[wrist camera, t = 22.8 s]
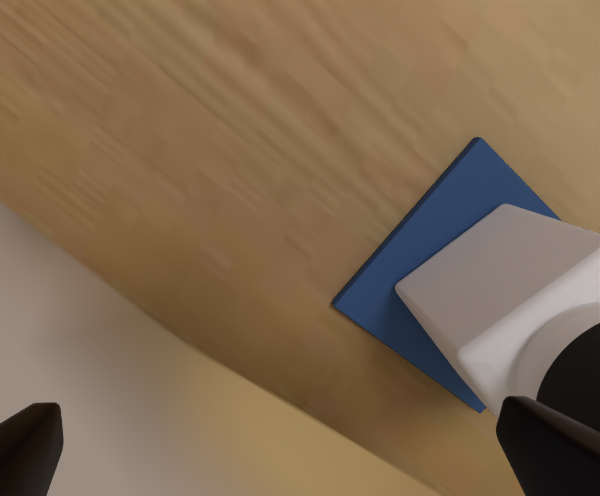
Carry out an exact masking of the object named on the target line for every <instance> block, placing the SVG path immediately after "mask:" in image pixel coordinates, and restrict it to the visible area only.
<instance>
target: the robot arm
mask: <svg viewBox="0 0 600 496" xmlns="http://www.w3.org/2000/svg"><path fill="white" fill-rule="evenodd" d="M496 434H497V438H498V440H499V443H500V445H501V447H502V449H503V451H504V453H505V455H506V457H507V459H508V461H509V463H510V465H511V467H512V469H513V471H514V473H515V475H516V477H517V479H518V481H519V483H520V485H521V487H522V490H523V492H524V494H525V496H600V432H599V431H596V430H594V429H592V428H590V427H588V426H586V425H584V424H582V423H580V422H578V421H576V420H574V419H572V418H570V417H568V416H566V415H564V414H562V413H560V412H558V411H556V410H554V409H551V408H549V407H547V406H545V405H543V404H541V403H539V402H537V401H535V400H533V399H531V398H529V397H527V396H508V397H506V398H505V399H504V400H503V403H502V407H501V411H500V414H499V418H498V422H497V426H496ZM62 449H63V429H62V418H61V409H60V406H59V405H58V404H57V403H34V404H32V405H30V406H28V407H26V408H25V409H23V410H21V411H20V412H19V413H17V414H15V415H13V416H12V417H10V418H8V419H7V420H5V421H4V422H2V423H0V496H46V495H47V492H48V490H49V487H50V484H51V481H52V478H53V476H54V473H55V469H56V467H57V464H58V461H59V458H60V456H61V453H62Z"/></svg>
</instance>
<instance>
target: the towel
mask: <svg viewBox="0 0 600 496" xmlns="http://www.w3.org/2000/svg"><path fill="white" fill-rule="evenodd" d="M502 204H510V205H513V206H516V207H519V208H522V209H525V210H528V211H532V212H535V213H538V214H541V215H544V216H547V217H550V218H553V219H556V220H559V221H561V220H560V219H559V218H558V217H557V215H556V214H555V213H554V212H553V211H552V210H551V209H550V208H549V207H548V206H547V205H546V204H545V203H544V202H543V201H542V200H541V199H540V198H539V197H538V196H537V195H536V194H535V193H534V192H533V191H532V190H531V189H530V188H529V187H528V185H527V184H526V183H525V182H524V181H523V180H522V179H521V178H520V177H519V176H518V175H517V174H516V173H515V172H514V171H513V170H512V169H511V168H510V167H509V166H508V165H507V164H506V163H505V162H504V161H503V160H502V159H501V158H500V156H499V155H498V154H497V153H496V152H495V151H494V150H493V149H492V148H491V147H490V146H489V145H488V144H487V143H486V142H485V141H484V140H483V139H482V138H479V137H475V138H474V139H473V140H472V141H471V142H470V144H469V145H468V146H467V147H466V148H465V149H464V150H463V152H462V153H461V154H460V155H459V156H458V157H457V158H456V160H455V161H454V162H453V163H452V164H451V165H450V167H449V168H448V169H447V170H446V171H445V172H444V173H443V175H442V176H441V177H440V178H439V179H438V180H437V181H436V183H435V184H434V185H433V186H432V187H431V188H430V189H429V191H428V192H427V193H426V194H425V195H424V196H423V198H422V199H421V200H420V201H419V202H418V203H417V204H416V206H415V207H414V208H413V209H412V210H411V211H410V212H409V214H408V215H407V216H406V217H405V218H404V219H403V220H402V222H401V223H400V224H399V225H398V226H397V227H396V229H395V230H394V231H393V232H392V233H391V234H390V235H389V237H388V238H387V239H386V240H385V241H384V242H383V243H382V245H381V246H380V247H379V248H378V249H377V250H376V251H375V253H374V254H373V255H372V256H371V257H370V258H369V260H368V261H367V262H366V263H365V264H364V265H363V266H362V268H361V269H360V270H359V271H358V272H357V273H356V274H355V276H354V277H353V278H352V279H351V280H350V281H349V282H348V284H347V285H346V286H345V287H344V288H343V289H342V290H341V292H340V293H339V294H338V295H337V296H336V297H335V299H334V300H333V301H332V304H333V306H334V307H335V308H337V309H338V310H339V311H341V312H342V313H343V314H345V315H346V316H347V317H349V318H350V319H352V320H353V321H354V322H356V323H357V324H358V325H360V326H361V327H362V328H364V329H365V330H367V331H368V332H369V333H371V334H372V335H373V336H375V337H376V338H378V339H379V340H380V341H382V342H383V343H384V344H386V345H387V346H388V347H390V348H391V349H393V350H394V351H395V352H397V353H398V354H399V355H401V356H402V357H404V358H405V359H406V360H408V361H409V362H410V363H412V364H413V365H414V366H416V367H417V368H419V369H420V370H421V371H423V372H424V373H425V374H427V375H428V376H429V377H431V378H432V379H434V380H435V381H436V382H438V383H439V384H440V385H442V386H443V387H445V388H446V389H447V390H449V391H450V392H451V393H453V394H454V395H455V396H457V397H458V398H460V399H461V400H462V401H464V402H465V403H466V404H468V405H469V406H470V407H472V408H473V409H475V410H476V411H477V412H479V413H481V412H482V411H483V410H484V409H485V408H486V406H485V405H484V404H483V403H482V401H481V400H480V399H479V398H478V397H477V396H476V394H475V393H474V392H473V391H472V390H471V389H470V387H469V386H468V385H467V384H466V383H465V381H464V380H463V379H462V378H461V377H460V376H459V374H458V373H457V372H456V371H455V369H454V368H453V367H452V365H451V364H450V363H449V362H448V360H447V359H446V358H445V356H444V355H443V354H442V352H441V351H440V350H439V348H438V347H437V346H436V344H435V343H434V342H433V340H432V339H431V338H430V336H429V335H428V334H427V332H426V331H425V330H424V328H423V327H422V326H421V324H420V323H419V322H418V321H417V319H416V318H415V317H414V315H413V314H412V313H411V311H410V310H409V309H408V307H407V306H406V305H405V303H404V302H403V301H402V299H401V298H400V297H399V295H398V294H397V293H396V290H395V285H396V284H397V282H399V281H400V280H401V279H403V278H404V277H405V276H407V275H408V274H409V273H411V272H412V271H413V270H415V269H416V268H417V267H418V266H420V265H421V264H422V263H424V262H425V261H426V260H428V259H429V258H430V257H432V256H433V255H434V254H436V253H437V252H438V251H440V250H441V249H442V248H444V247H445V246H446V245H448V244H449V243H450V242H452V241H453V240H454V239H456V238H457V237H458V236H460V235H461V234H462V233H464V232H465V231H466V230H468V229H469V228H470V227H472V226H473V225H474V224H476V223H477V222H478V221H480V220H481V219H482V218H484V217H485V216H486V215H488V214H489V213H490V212H492V211H493V210H494V209H495V208H497V207H498V206H499V205H502Z"/></svg>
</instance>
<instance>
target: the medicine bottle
mask: <svg viewBox="0 0 600 496" xmlns="http://www.w3.org/2000/svg"><path fill="white" fill-rule="evenodd" d="M395 290H396V293H397V294H398V295H399V297H400V298H401V299H402V301H403V302H404V303H405V305H406V306H407V307H408V309H409V310H410V311H411V313H412V314H413V315H414V317H415V318H416V319H417V321H418V322H419V323H420V324H421V326H422V327H423V328H424V330H425V331H426V332H427V334H428V335H429V336H430V338H431V339H432V340H433V342H434V343H435V344H436V346H437V347H438V348H439V350H440V351H441V352H442V354H443V355H444V356H445V358H446V359H447V360H448V362H449V363H450V364H451V365H452V367H453V368H454V369H455V371H456V372H457V373H458V374H459V376H460V377H461V378H462V379H463V380H464V381H465V383H466V384H467V385H468V386H469V387H470V389H471V390H472V391H473V392H474V393H475V394H476V396H477V397H478V398H479V399H480V400H481V401H482V403H483V404H484V405H485V406H486V407H487V408H488V410H489V411H490V412H491V413H492V414H493V416H494V417H495V418H496V419H497V420H498V418H499V414H500V411H501V407H502V403H503V400H504V399H505V398H506V397H508V396H527V397H529V398H531V399H533V400H535V401H537V402H539V403H541V404H543V405H545V406H547V407H549V408H551V409H554V410H556V411H558V412H560V413H562V414H564V415H566V416H568V417H570V418H572V419H574V420H576V421H578V422H580V423H582V424H584V425H586V426H588V427H590V428H592V429H594V430H596V431H599V432H600V233H596V232H593V231H590V230H587V229H584V228H581V227H578V226H575V225H572V224H569V223H566V222H562V221H559V220H556V219H553V218H550V217H547V216H544V215H541V214H538V213H535V212H532V211H528V210H525V209H522V208H519V207H516V206H513V205H510V204H502V205H499V206H498V207H497V208H495V209H494V210H493V211H492V212H490V213H489V214H488V215H486V216H485V217H484V218H482V219H481V220H480V221H478V222H477V223H476V224H474V225H473V226H472V227H470V228H469V229H468V230H466V231H465V232H464V233H462V234H461V235H460V236H458V237H457V238H456V239H454V240H453V241H452V242H450V243H449V244H448V245H446V246H445V247H444V248H442V249H441V250H440V251H438V252H437V253H436V254H434V255H433V256H432V257H430V258H429V259H428V260H426V261H425V262H424V263H422V264H421V265H420V266H418V267H417V268H416V269H415V270H413V271H412V272H411V273H409V274H408V275H407V276H405V277H404V278H403V279H401V280H400V281H399V282H397V284H396V285H395Z"/></svg>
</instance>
